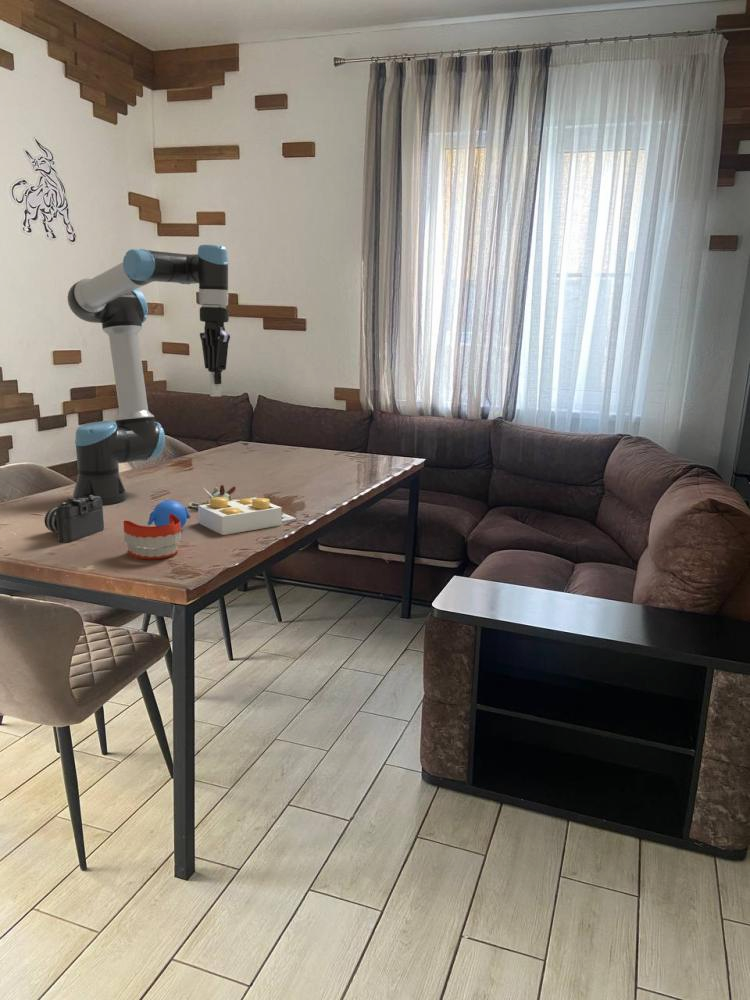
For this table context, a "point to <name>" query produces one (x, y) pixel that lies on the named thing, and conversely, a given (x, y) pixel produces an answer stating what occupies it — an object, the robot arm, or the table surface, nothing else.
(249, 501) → the button far right
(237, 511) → the button near left
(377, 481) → the table surface
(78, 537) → the camera
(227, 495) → the toy dog
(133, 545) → the toy
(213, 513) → the button board
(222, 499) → the button far left
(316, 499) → the table surface
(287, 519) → the card
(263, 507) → the button near right
